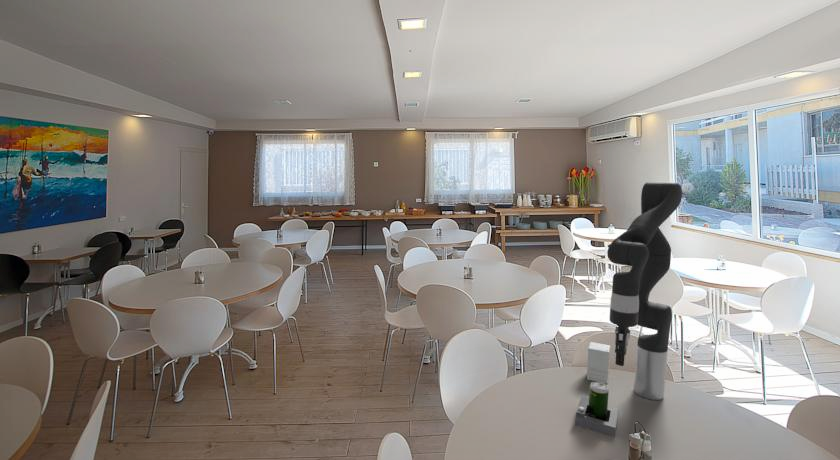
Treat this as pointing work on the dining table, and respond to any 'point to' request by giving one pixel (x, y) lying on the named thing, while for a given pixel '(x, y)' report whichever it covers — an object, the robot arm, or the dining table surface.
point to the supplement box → (598, 362)
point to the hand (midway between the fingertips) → (620, 359)
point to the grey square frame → (594, 423)
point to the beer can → (598, 401)
